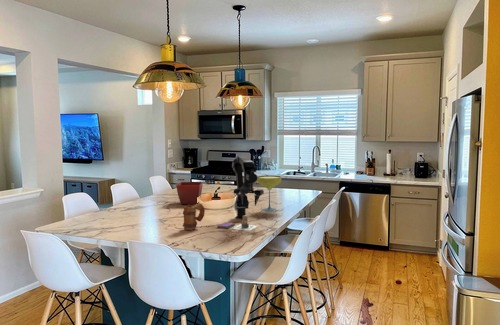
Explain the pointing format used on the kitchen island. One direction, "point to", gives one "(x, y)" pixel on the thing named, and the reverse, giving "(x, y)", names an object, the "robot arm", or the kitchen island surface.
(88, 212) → the kitchen island surface
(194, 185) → the plant pot
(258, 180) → the cocktail glass
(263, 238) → the kitchen island surface
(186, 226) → the mug
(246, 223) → the stamp
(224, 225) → the ink pad
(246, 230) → the sheet
